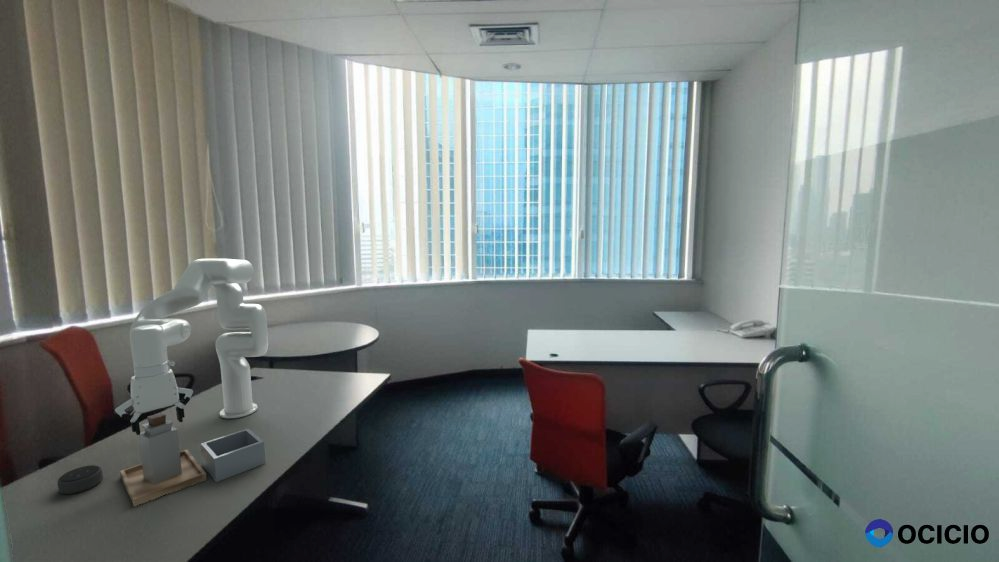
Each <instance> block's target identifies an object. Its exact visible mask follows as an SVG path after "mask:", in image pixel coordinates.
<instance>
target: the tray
mask: <svg viewBox="0 0 999 562" xmlns="http://www.w3.org/2000/svg"><path fill="white" fill-rule="evenodd" d="M180 459H181V469H182V473H181V474H179V475H177V476H174V477H172V478H170V479H167V480H165V481H163V482H160V483H158V484H156V485H153V484H152V483H150V482H149V481H147V480H146V479H145V478H144V477H143V468H142V463H140V464H136V465H133V466H131V467H128V468H125V469H122V470H119V473H120V478H121V481H122V482H123V485H124V487H125V489H126V491H127V494H128V496H129V498H130V501H131V500H132V501H131V503H132V505H133V507H134V506H135V507H137V505H138V506H140V505H139V504H141V505H143V504H145V502H146V503H149V502H150V501H149V500H151V501H153V500H152V499H154V498H157V497H159V498H161V497H160V496H162V497H164V496H163V495H165V494H167V495H169V494H168V493H170V494H173V493H175V492H177V491H176V490H178V491H180V490H183V489H185V488H184V487H186V488H188V487H190V485H191V486H193V485H192V484H194V485H196V484H199V483H202V482H204V481H206V479H207V473H206V471H205V470H204V469H203V467H202V466H201V464H199V462H197V460H196V459H195V457H194V456H193V455H192V453H190V451H189V450H188V449H183V450H180ZM203 480H204V481H203ZM201 481H202V482H201ZM198 482H199V483H198ZM187 486H188V487H187ZM182 488H183V489H182ZM179 489H180V490H179ZM174 491H175V492H174ZM165 496H166V495H165ZM157 499H158V498H157ZM154 500H155V499H154ZM148 501H149V502H148ZM142 503H143V504H142Z"/></svg>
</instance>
